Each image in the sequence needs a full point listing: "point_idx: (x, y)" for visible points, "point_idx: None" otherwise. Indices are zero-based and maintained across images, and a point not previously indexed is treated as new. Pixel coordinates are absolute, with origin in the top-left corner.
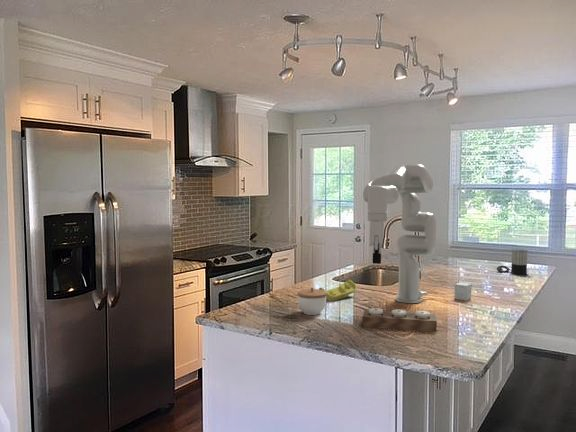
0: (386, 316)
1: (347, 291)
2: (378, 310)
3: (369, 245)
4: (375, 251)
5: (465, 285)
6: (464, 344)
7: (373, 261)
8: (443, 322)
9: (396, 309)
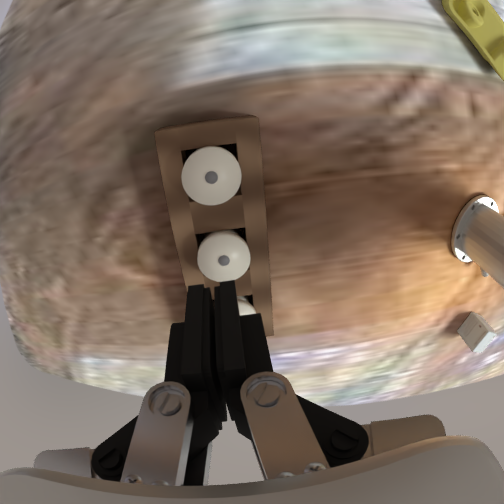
0: (189, 216)
1: (499, 61)
2: (205, 188)
3: (4, 473)
4: (128, 434)
5: (474, 349)
6: (139, 367)
7: (188, 304)
8: (290, 329)
9: (245, 248)
